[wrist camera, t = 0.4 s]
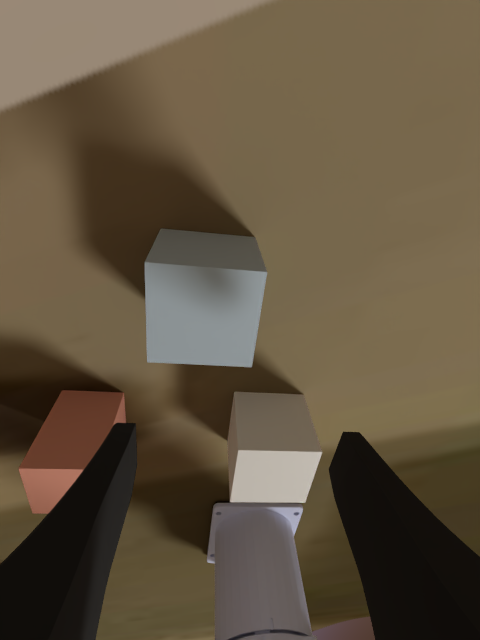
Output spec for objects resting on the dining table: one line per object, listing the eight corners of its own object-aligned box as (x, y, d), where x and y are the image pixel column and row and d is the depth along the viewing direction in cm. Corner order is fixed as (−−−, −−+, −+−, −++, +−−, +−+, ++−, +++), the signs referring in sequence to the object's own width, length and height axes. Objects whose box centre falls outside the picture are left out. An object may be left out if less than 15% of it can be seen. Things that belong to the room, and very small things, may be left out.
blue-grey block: (244, 316, 21) (251, 367, 17) (161, 311, 21) (147, 362, 16) (254, 236, 19) (267, 272, 14) (161, 227, 18) (144, 262, 14)
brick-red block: (126, 433, 26) (104, 513, 20) (70, 431, 25) (32, 513, 20) (123, 392, 24) (98, 469, 18) (62, 389, 23) (18, 468, 18)
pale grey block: (290, 441, 27) (305, 502, 23) (227, 440, 27) (229, 502, 22) (303, 393, 25) (322, 452, 20) (233, 390, 24) (238, 450, 20)
